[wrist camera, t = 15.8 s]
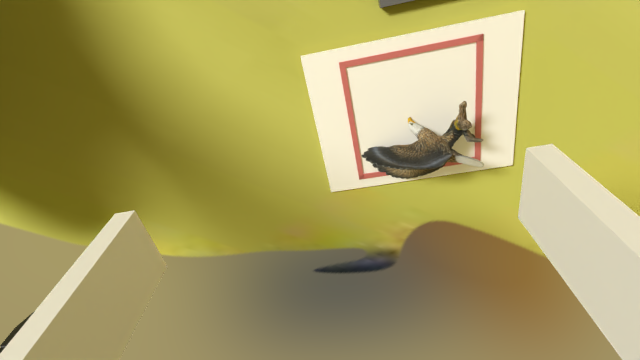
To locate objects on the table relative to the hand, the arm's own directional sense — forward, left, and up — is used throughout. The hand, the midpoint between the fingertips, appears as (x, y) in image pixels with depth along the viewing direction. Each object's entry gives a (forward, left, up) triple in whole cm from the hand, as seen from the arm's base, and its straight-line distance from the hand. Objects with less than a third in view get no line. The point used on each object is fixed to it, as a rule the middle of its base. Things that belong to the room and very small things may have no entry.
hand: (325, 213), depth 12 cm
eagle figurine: (+6, -8, -22) cm, 24 cm away
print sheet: (+6, -6, -22) cm, 23 cm away
